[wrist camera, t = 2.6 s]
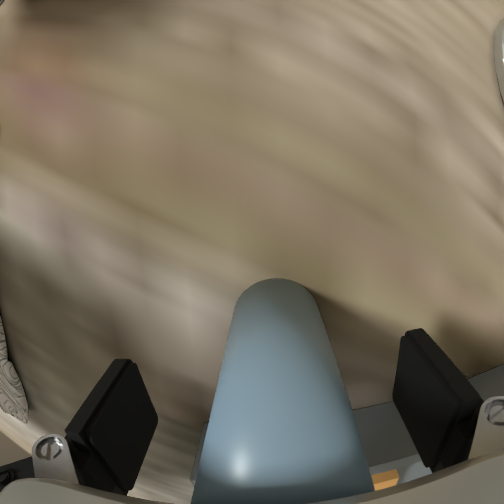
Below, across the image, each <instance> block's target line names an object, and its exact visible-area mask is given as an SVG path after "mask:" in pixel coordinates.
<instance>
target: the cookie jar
mask: <svg viewBox="0 0 504 504" xmlns="http://www.w3.org/2000/svg"><path fill="white" fill-rule="evenodd" d="M0 408H1V409H2V410H3V411H4V412H5V413H9V414H10V415H12V416H14V417H16V418H18V419H19V420H21V421H22V422H24V423H27V421H28V413H29V410H28V404H27V400H26V396H25V393H24V390H23V387H22V384H21V381H20V379H19V377H18V375H17V373H16V371H15V369H14V367H13V365H12V362H11V360H10V358H9V355H8V349H7V344H6V339H5V333H4V329H3V325H2V321H1V317H0Z"/></svg>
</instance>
